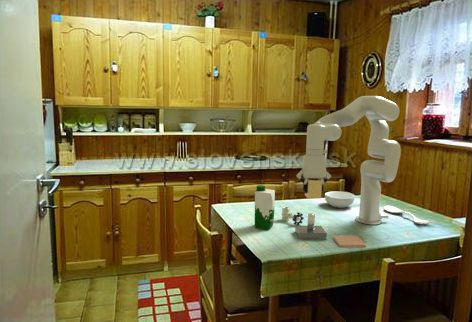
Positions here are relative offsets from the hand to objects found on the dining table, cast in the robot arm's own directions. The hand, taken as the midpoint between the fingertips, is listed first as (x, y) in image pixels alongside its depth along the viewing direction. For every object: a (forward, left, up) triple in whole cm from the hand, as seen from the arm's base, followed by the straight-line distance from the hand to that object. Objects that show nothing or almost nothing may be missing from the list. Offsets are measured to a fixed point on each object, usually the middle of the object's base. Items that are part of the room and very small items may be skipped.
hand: (313, 192), depth 170 cm
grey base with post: (0, 0, -20) cm, 20 cm away
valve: (+6, -19, -20) cm, 29 cm away
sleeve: (0, 0, -2) cm, 2 cm away
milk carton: (+20, -11, -20) cm, 31 cm away
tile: (-15, +8, -20) cm, 26 cm away
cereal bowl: (-28, -50, -20) cm, 61 cm away
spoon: (-57, -29, -21) cm, 68 cm away
